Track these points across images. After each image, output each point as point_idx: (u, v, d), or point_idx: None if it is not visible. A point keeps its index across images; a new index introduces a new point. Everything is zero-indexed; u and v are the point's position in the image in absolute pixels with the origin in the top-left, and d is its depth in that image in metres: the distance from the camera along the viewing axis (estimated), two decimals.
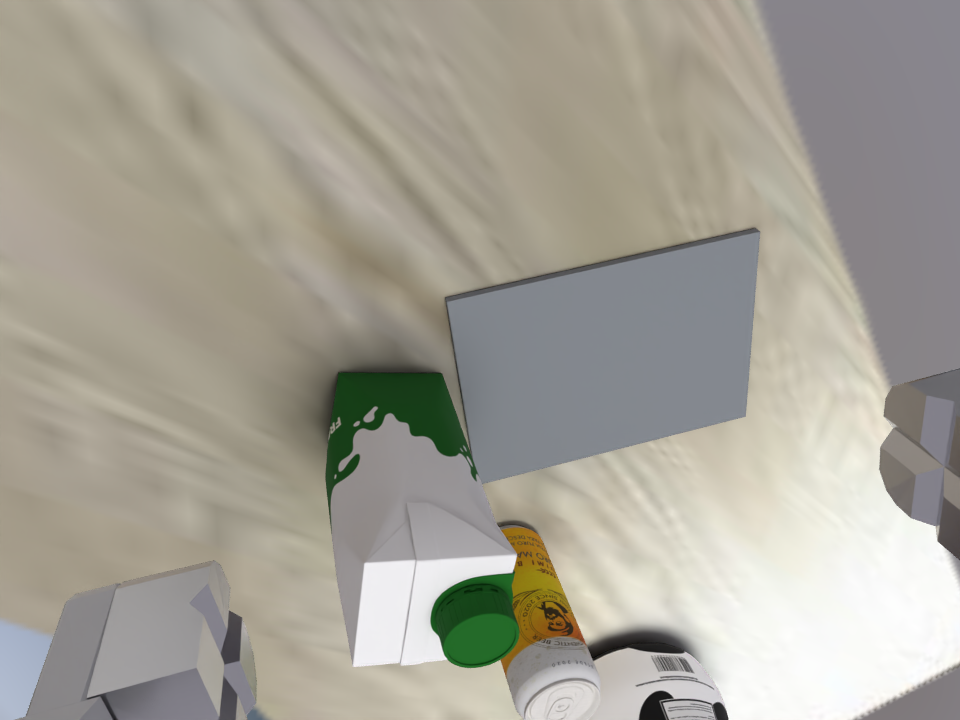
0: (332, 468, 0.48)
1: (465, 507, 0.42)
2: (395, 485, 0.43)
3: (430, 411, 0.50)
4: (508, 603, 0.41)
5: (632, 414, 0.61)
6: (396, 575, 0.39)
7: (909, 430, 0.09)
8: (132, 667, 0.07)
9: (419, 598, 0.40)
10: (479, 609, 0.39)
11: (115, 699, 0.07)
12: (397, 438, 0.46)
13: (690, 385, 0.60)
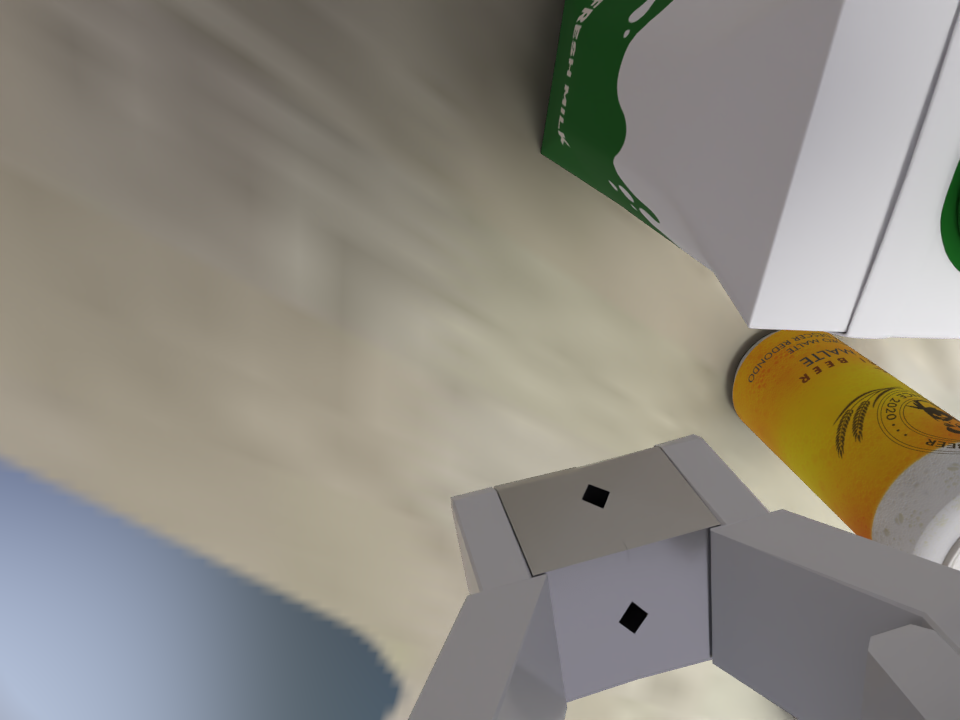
0: (610, 37, 0.24)
1: None
2: None
3: None
4: None
5: None
6: (912, 25, 0.16)
7: None
8: (561, 550, 0.08)
9: (949, 109, 0.16)
10: None
11: (555, 578, 0.07)
12: None
13: None
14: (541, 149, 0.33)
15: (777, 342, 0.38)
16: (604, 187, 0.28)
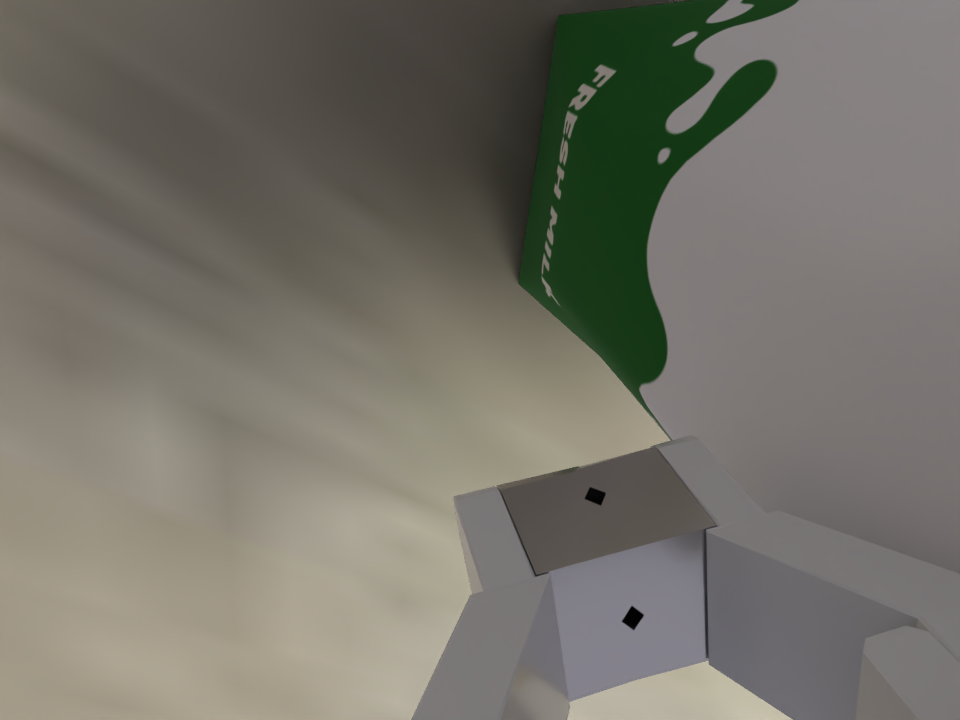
0: (631, 154, 0.13)
1: None
2: None
3: None
4: None
5: None
6: None
7: None
8: (564, 550, 0.08)
9: None
10: None
11: (558, 577, 0.07)
12: None
13: None
14: (519, 278, 0.22)
15: None
16: None
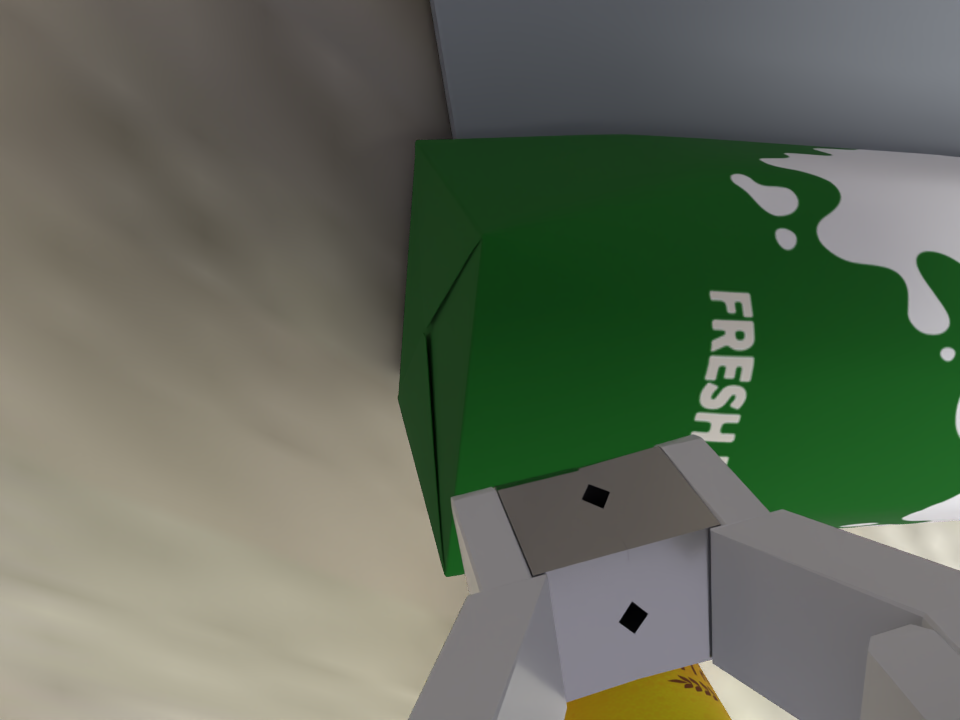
0: (900, 365, 0.14)
1: None
2: None
3: (686, 138, 0.18)
4: None
5: None
6: None
7: None
8: (561, 550, 0.08)
9: None
10: None
11: (555, 578, 0.07)
12: (872, 166, 0.16)
13: None
14: (452, 570, 0.15)
15: None
16: None
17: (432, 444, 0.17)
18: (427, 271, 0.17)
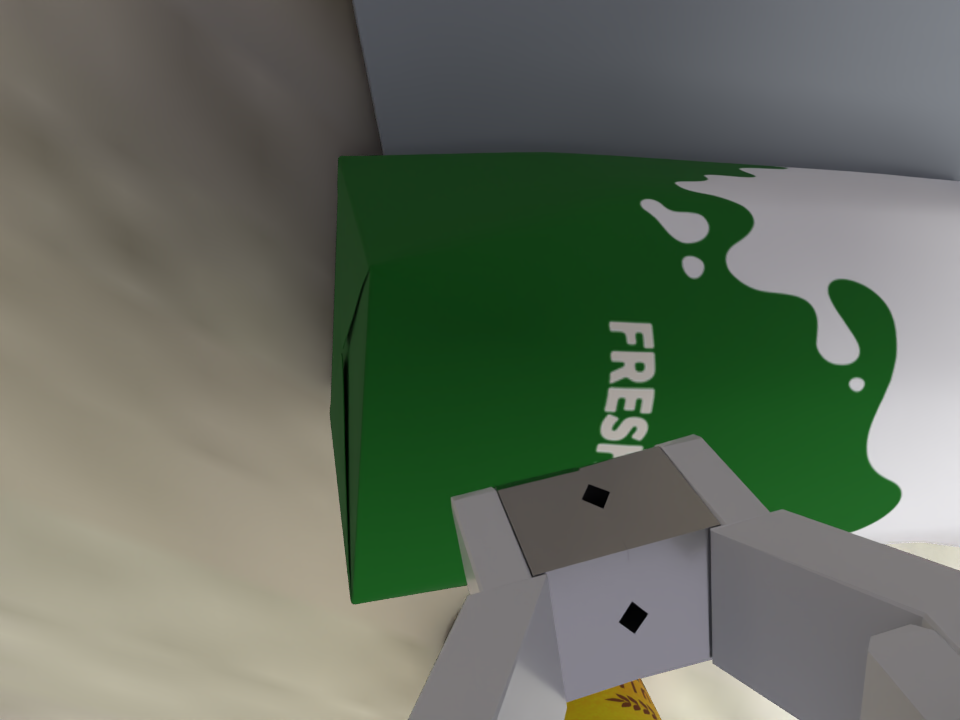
0: (807, 396, 0.14)
1: (929, 180, 0.20)
2: None
3: (610, 157, 0.18)
4: None
5: None
6: None
7: None
8: (561, 550, 0.08)
9: None
10: None
11: (555, 578, 0.07)
12: (792, 190, 0.16)
13: None
14: (358, 598, 0.15)
15: None
16: None
17: (344, 468, 0.16)
18: (343, 292, 0.17)
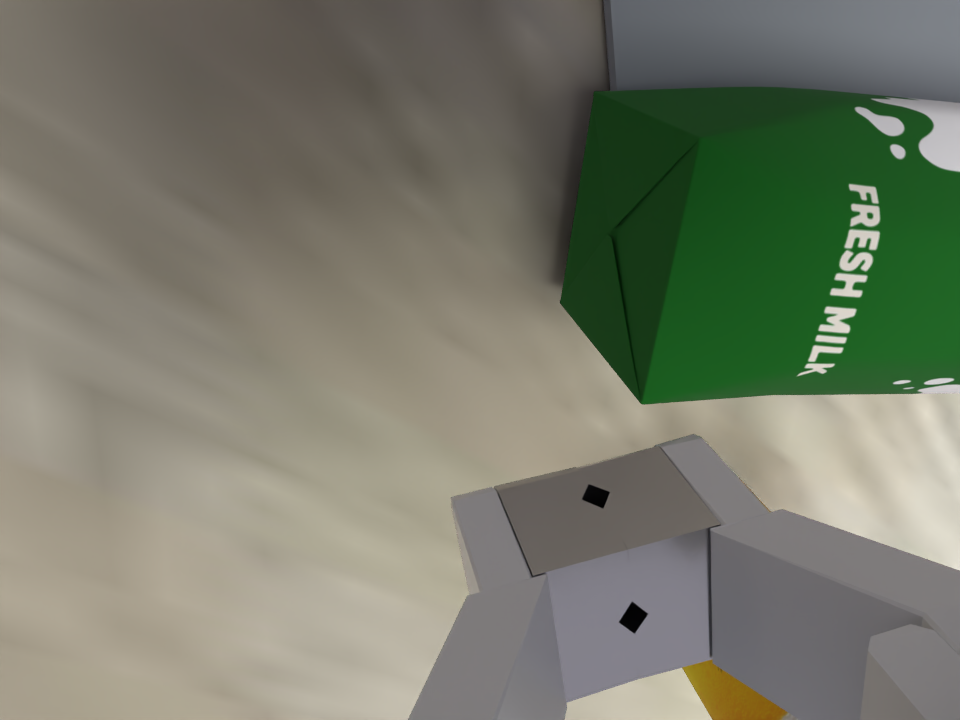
0: None
1: None
2: None
3: None
4: None
5: None
6: None
7: None
8: (561, 550, 0.08)
9: None
10: None
11: (555, 578, 0.07)
12: (952, 106, 0.22)
13: None
14: (646, 399, 0.21)
15: None
16: (824, 389, 0.23)
17: (623, 313, 0.22)
18: (615, 186, 0.23)
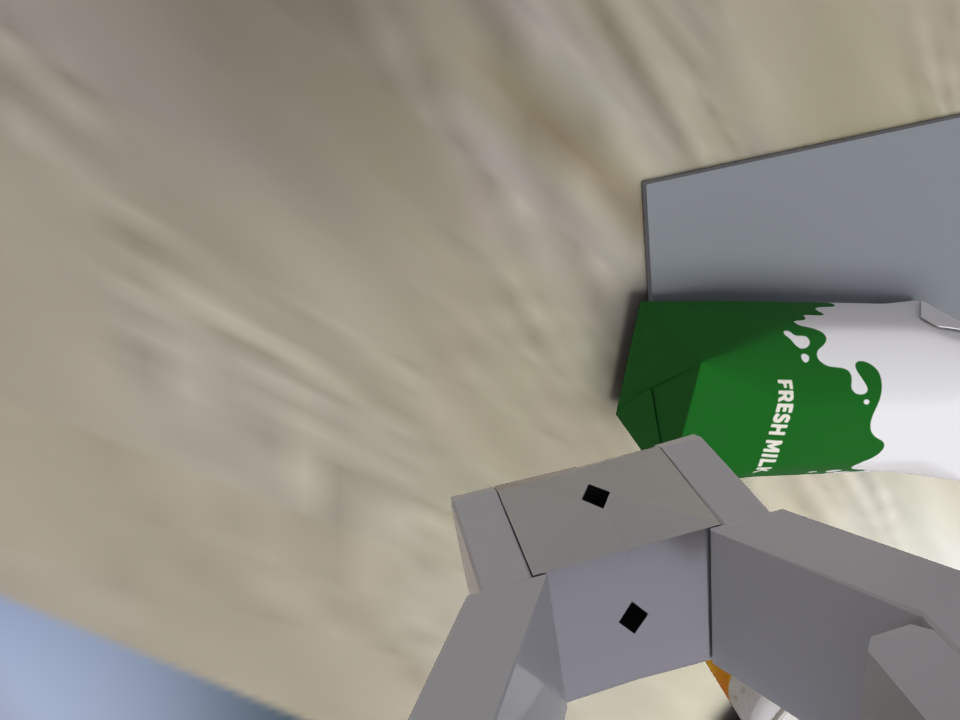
0: (848, 406, 0.38)
1: (898, 306, 0.44)
2: (914, 331, 0.41)
3: (760, 303, 0.42)
4: None
5: None
6: None
7: None
8: (561, 550, 0.08)
9: None
10: None
11: (555, 578, 0.07)
12: (839, 322, 0.40)
13: None
14: None
15: None
16: (769, 475, 0.41)
17: (658, 435, 0.40)
18: (653, 363, 0.41)
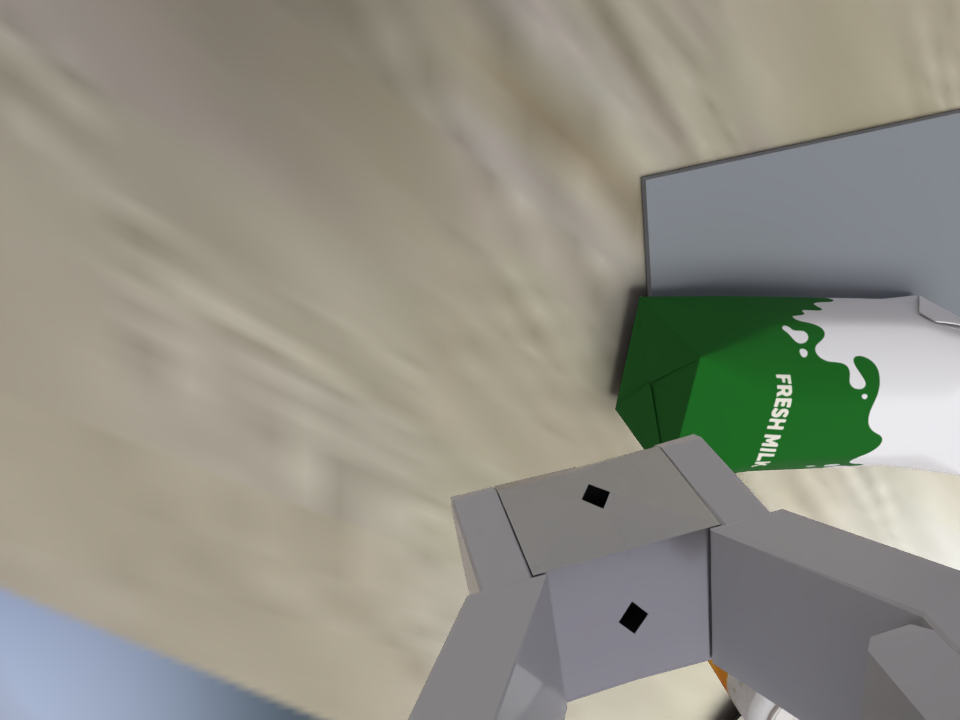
0: (846, 401, 0.38)
1: (896, 301, 0.44)
2: (912, 326, 0.41)
3: (759, 299, 0.42)
4: None
5: None
6: None
7: None
8: (561, 550, 0.08)
9: None
10: None
11: (555, 578, 0.07)
12: (838, 317, 0.40)
13: None
14: None
15: None
16: (767, 469, 0.41)
17: (657, 430, 0.40)
18: (653, 358, 0.41)
